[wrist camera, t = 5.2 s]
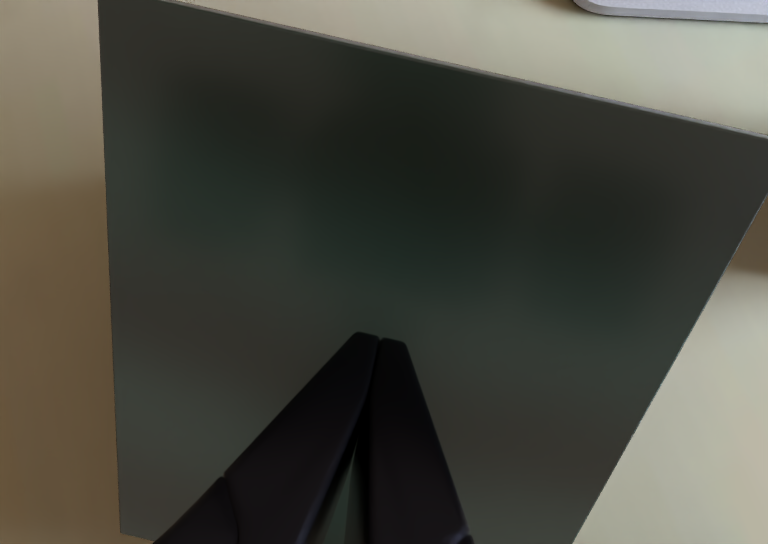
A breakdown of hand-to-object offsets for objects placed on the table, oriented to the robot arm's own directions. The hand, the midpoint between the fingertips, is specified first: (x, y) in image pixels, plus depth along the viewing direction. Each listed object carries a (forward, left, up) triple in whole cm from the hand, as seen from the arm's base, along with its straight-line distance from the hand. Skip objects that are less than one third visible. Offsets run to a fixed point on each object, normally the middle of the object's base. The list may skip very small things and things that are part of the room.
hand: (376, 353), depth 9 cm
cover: (0, 0, -3) cm, 3 cm away
